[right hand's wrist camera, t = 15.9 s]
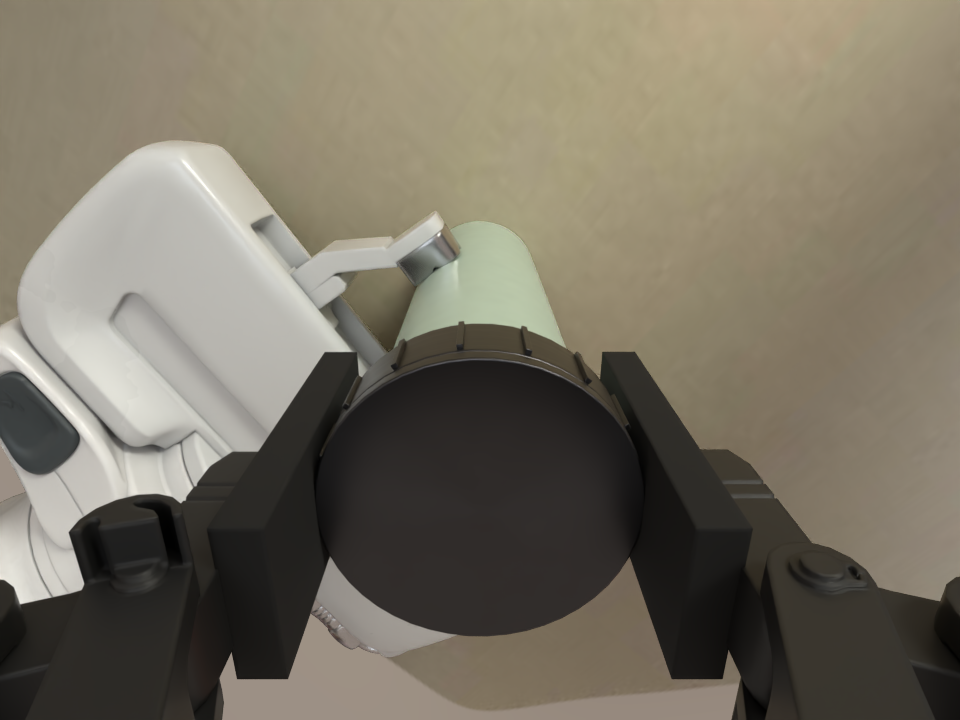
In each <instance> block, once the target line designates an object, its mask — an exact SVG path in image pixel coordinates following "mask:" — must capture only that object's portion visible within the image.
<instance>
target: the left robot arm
mask: <svg viewBox="0 0 960 720" xmlns="http://www.w3.org/2000/svg"><path fill="white" fill-rule="evenodd" d="M460 249H461V246H460V245H459V243H458V242H457V240H456V239H455V237H454V236H453V234H452V233H451V231H450V230H449V228H448V227H447V225H446V224H445V223H444V221H443V219H442V218H441V217H440V215H439V214H438V213H437V211H434V212H432V213H430V214H428V215H427V216H426V217H424V218H423V219H421V220H420V221H419V222H417V223H416V224H414V225H413V226H412V227H410V228H409V229H407V230H406V231H405V232H403V233H402V234H400V235H399V236H398V237H396V238H395V239H393V238H392V237H391V236H389V237H375V238H361V239H347V240H335V241H333V242H332V243H331V244H329V245H328V246H327V247H325V248H324V249H323V250H321V251H320V252H318V253H317V254H316V255H314V256H313V257H311V256H310V255H309V253H308V252H307V251H306V250H305V248H304V247H303V246H302V245H301V243H300V242H299V241H298V239H297V238H296V237H295V236H294V234H293V233H292V232H291V231H290V229H289V228H288V227H287V226H286V224H285V223H284V222H283V221H282V219H281V218H280V217H279V216H278V214H277V213H276V212H275V211H274V209H273V208H272V207H271V206H270V204H269V203H268V202H267V201H266V199H265V198H264V197H263V196H262V194H261V193H260V192H259V190H258V189H257V188H256V187H255V185H254V184H253V183H252V182H251V180H250V179H249V178H248V177H247V175H246V174H245V173H244V172H243V170H242V169H241V168H240V167H239V165H238V164H237V163H236V161H235V160H234V159H233V158H232V156H231V155H230V154H229V153H228V152H227V151H226V150H225V149H224V148H222V147H220V146H218V145H215V144H209V143H203V142H195V141H183V140H170V141H163V142H157V143H153V144H149V145H146V146H144V147H141V148H139V149H137V150H136V151H134V152H132V153H131V154H129V155H128V156H127V157H125V158H124V159H123V160H122V161H121V162H119V163H118V164H117V165H116V166H115V167H114V168H112V169H111V170H110V171H109V172H108V173H107V174H106V175H105V176H104V177H103V178H102V179H100V180H99V181H98V182H97V183H96V184H95V185H94V186H93V187H92V188H91V189H90V190H89V191H88V192H87V193H86V194H85V195H84V196H83V197H82V198H81V199H80V201H79V202H78V203H77V204H76V205H75V206H74V207H73V208H72V209H71V210H70V211H69V212H68V213H67V215H66V216H65V217H64V218H63V219H62V220H61V221H60V222H59V224H58V225H57V226H56V227H55V228H54V229H53V231H52V232H51V233H50V234H49V236H48V237H47V238H46V239H45V241H44V242H43V243H42V244H41V246H40V247H39V248H38V249H37V251H36V252H35V253H34V255H33V256H32V258H31V259H30V261H29V262H28V264H27V266H26V268H25V270H24V272H23V274H22V277H21V280H20V283H19V287H18V292H17V309H18V315H19V316H17V317H15V318H13V319H11V320H10V321H8V322H6V323H4V324H2V325H1V326H0V446H1V448H2V449H3V451H4V453H5V454H6V456H7V458H8V459H9V461H10V463H11V465H12V466H13V468H14V470H15V472H16V473H17V475H18V477H19V479H20V481H21V483H22V485H23V487H24V489H25V491H26V492H24V493H22V494H19V495H16V496H13V497H11V498H9V499H6V500H4V501H2V502H0V579H1V580H5V581H7V582H8V583H9V584H11V585H12V586H13V587H14V589H15V591H16V594H17V597H18V600H19V602H20V604H23V603H28V602H33V601H37V600H42V599H46V598H51V597H56V596H60V595H65V594H70V593H73V592H77V591H80V590H82V588H83V586H84V581H83V578H82V575H81V572H80V568H79V565H78V562H77V559H76V555H75V552H74V549H73V546H72V542H71V539H70V536H69V533H68V532H69V531H70V530H71V529H72V527H73V526H74V525H75V524H76V523H77V522H78V520H79V519H81V518H82V517H84V516H85V515H87V514H88V513H90V512H91V511H93V510H94V509H96V508H98V507H101V506H103V505H105V504H108V503H110V502H112V501H115V500H118V499H122V498H126V497H130V496H134V495H140V494H161V495H166V496H171V497H173V498H175V499H176V500H177V501H178V502H180V503H182V501H186V496H187V495H188V494H189V492H190V491H191V490H192V489H193V487H194V486H197V482H198V481H199V480H200V478H201V477H202V476H203V475H204V473H205V472H206V471H207V469H208V468H209V467H210V466H211V465H212V464H214V463H216V462H217V461H219V460H220V459H222V458H223V457H225V456H226V455H228V454H229V453H231V452H258V451H259V449H260V448H261V446H262V445H263V443H264V442H265V440H266V439H267V437H268V436H269V435H270V433H271V432H272V430H273V429H274V427H275V426H276V424H277V423H278V421H279V420H280V418H281V417H282V415H283V414H284V412H285V411H286V409H287V408H288V406H289V405H290V403H291V402H292V400H293V399H294V397H295V396H296V394H297V393H298V391H299V390H300V388H301V387H302V385H303V384H304V382H305V381H306V379H307V378H308V376H309V375H310V373H311V372H312V370H313V369H314V367H315V366H316V364H317V363H318V361H319V360H320V358H321V357H322V355H323V354H324V352H357V356H358V369H359V376H361V377H363V375H364V374H365V373H366V371H367V370H368V369H369V368H371V367H372V366H373V365H374V364H375V363H376V362H377V361H378V360H379V359H380V358H381V357H383V356H384V355H385V354H387V351H386V350H385V349H384V348H383V346H382V345H381V344H380V343H379V341H378V340H377V339H376V337H375V336H374V335H373V334H372V332H371V331H370V330H369V329H368V327H367V326H366V325H365V324H364V322H363V321H362V320H361V319H360V317H359V316H358V315H357V314H356V312H355V311H354V310H353V309H352V307H351V306H350V305H349V304H348V302H347V301H346V300H345V299H344V297H343V296H342V295H341V293H343V292H344V291H345V290H346V289H347V288H348V286H349V285H350V284H351V282H352V281H353V280H354V279H355V277H356V276H357V274H358V271H364V270H374V269H384V268H394V267H398V266H399V267H400V269H401V270H402V271H403V272H404V274H405V275H406V276H407V277H408V279H409V280H410V281H411V283H412V284H413V285H414V286H416V285H418V284H419V283H421V282H422V281H424V280H425V279H427V278H428V277H429V276H430V275H431V274H432V272H433V269H434V267H443V266H445V265H447V264H448V263H450V262H451V261H453V260H454V259H455V258H456V257H457V256H458V255H459V254H460V252H461V251H460ZM311 614H312V615H314V616H315V617H316V618H318V619H319V620H320V621H321V622H322V623H323V624H324V625H325V626H326V627H327V628H328V631H329V632H330V634H331V635H332V636H333V637H334V638H335V639H336V640H337V641H338V642H339V643H341V644H342V645H343V646H345V647H347V648H349V649H355V648H357V647H360V648H362V649H363V650H366V651H369V652H372V653H377V654H381V655H382V656H384V657H394V656H398V655H401V654H403V653H405V652H407V651H409V650H414V649H417V648H421V647H425V646H428V645H431V644H434V643H437V642H440V641H443V640H446V639H449V638H451V637H454V636H457V635H454V634H447V633H442V632H437V631H433V630H428V629H425V628H422V627H419V626H416V625H413V624H410V623H408V622H406V621H404V620H401V619H399V618H397V617H395V616H393V615H391V614H389V613H388V612H386V611H384V610H382V609H381V608H379V607H377V606H376V605H375V604H373V603H372V602H371V601H369V600H368V599H367V598H365V597H364V596H363V595H362V594H360V593H359V592H358V591H357V590H356V589H355V588H354V587H353V586H352V585H351V584H350V583H349V582H348V581H347V579H346V578H345V577H344V576H343V574H342V573H341V572H340V571H339V569H338V568H337V567H336V565H335V563H334V562H333V560H332V558H331V557H330V558H329V561H328V564H327V567H326V569H325V572H324V575H323V578H322V581H321V584H320V587H319V590H318V593H317V596H316V599H315V602H314V604H313V607H312V610H311Z"/></svg>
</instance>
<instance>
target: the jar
mask: <svg viewBox="0 0 960 720" xmlns="http://www.w3.org/2000/svg"><path fill="white" fill-rule="evenodd" d="M450 231H451V233H452V234H453V236H454V237H455V239H456V240H457V242H458V243H459V245H460V246H461V249H460V251H461V252H460V254H459V255H458V256H457V257H456V258H455V259H454V260H453V261H451V262H450V263H448V264H447V265H445V266H443V267H434V269H433V272H432V274H431V275H430V276H429V277H428V278H427V279H425V280H424V281H422V282H421V283H419V284H418V285H417V288H416V290H415V293H414V295H413V298H412V301H411V303H410V306H409V309H408V311H407V314H406V317H405V319H404V322H403V325H402V327H401V330H400V332H399V335H398V338H397V340H396V343H395V346H394V348H395V347H397V346H398V343H399V341H400V340H402V339H405V340H406V341H408V340H410V339H412V338H413V337H416V336H419V335H421V334H424V333H427V332H429V331H432V330H436V329H440V328H444V327H449V326H454V325H458V322H459V321H464V323H465V324H498V325H505V326H512V327H516V328H520V329H521V326H526V327H527V329H528V331H531V332H534V333H536V334H539V335H541V336H543V337H546V338H548V339H551V340H552V341H554V342H556V343H558V344H559V345H561V346H563V347H565V348H566V346H565V344H564V341H563V338H562V336H561V333H560V331H559V328H558V325H557V323H556V320H555V317H554V315H553V312H552V309H551V307H550V304H549V302H548V299H547V296H546V294H545V291H544V288H543V286H542V283H541V280H540V278H539V275H538V273H537V270H536V267H535V265H534V262H533V259H532V257H531V254H530V252H529V250H528V248H527V247H526V245H525V244H524V242H523V241H522V240H521V239H520V238H519V237H518V236H517V235H516V234H515V233H514V232H512V231H511V230H509V229H508V228H506V227H504V226H501V225H499V224H496V223H492V222H486V221H474V222H468V223H464V224H461V225H458V226H456V227H454V228H452V229H450ZM394 348H393V349H394Z"/></svg>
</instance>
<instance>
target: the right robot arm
mask: <svg viewBox="0 0 960 720" xmlns="http://www.w3.org/2000/svg"><path fill="white" fill-rule="evenodd" d="M358 375H359V369H358V356H357V352H324V354H323V355H322V357H321V358H320V360H319V361H318V363H317V364H316V366H315V367H314V369H313V370H312V372H311V373H310V375H309V376H308V378H307V379H306V381H305V382H304V384H303V385H302V387H301V388H300V390H299V391H298V393H297V394H296V396H295V397H294V399H293V400H292V402H291V403H290V405H289V406H288V408H287V409H286V411H285V412H284V414H283V415H282V417H281V418H280V420H279V421H278V423H277V424H276V426H275V427H274V429H273V430H272V432H271V433H270V435H269V436H268V437H267V439H266V440H265V442H264V443H263V445H262V446H261V448H260V449H259V451H258V452H231V453H229V454H228V455H226V456H225V457H223V458H222V459H220V460H219V461H217V462H216V463H214V464H212V465H211V466H210V467H209V468H208V469H207V471H206V472H205V473H204V475H203V476H202V477H201V478H200V480H199V481H198V482H197V486H194V487H193V489H192V490H191V491H190V492H189V494H188V495H187V496H186V501H182V503H180V502H178V501H177V500H176V499H175V498H173V497H171V496H166V495H161V494H140V495H134V496H130V497H126V498H122V499H118V500H115V501H112V502H110V503H108V504H105V505H103V506H101V507H98V508H96V509H94V510H93V511H91V512H90V513H88V514H87V515H85V516H84V517H82V518H81V519H79V520H78V522H77V523H76V524H75V525H74V526H73V527H72V529H71V530H70V531H69V532H68V533H69V536H70V539H71V542H72V546H73V549H74V552H75V555H76V559H77V562H78V565H79V568H80V572H81V575H82V578H83V581H84V586H83V588H82V590H80V591H77V592H73V593H70V594H65V595H60V596H56V597H51V598H46V599H42V600H37V601H33V602H28V603H23V604H20V602H19V600H18V597H17V594H16V591H15V589H14V587H13V586H12V585H11V584H9V583H8V582H7V581H5V580H1V579H0V720H222V714H223V705H224V701H223V694H222V688H221V684H220V679H219V677H220V675H221V673H222V671H223V669H224V667H225V665H226V662H227V660H228V658H229V656H230V654H231V652H232V656H233V661H234V666H235V671H236V676H237V679H288V677H289V674H290V671H291V669H292V666H293V663H294V660H295V657H296V654H297V651H298V648H299V645H300V642H301V639H302V636H303V634H304V631H305V628H306V625H307V622H308V619H309V616H310V613H311V610H312V607H313V604H314V602H315V599H316V596H317V593H318V590H319V587H320V584H321V581H322V578H323V575H324V572H325V569H326V567H327V564H328V561H329V558H330V555H329V553H328V551H327V549H326V547H325V544H324V542H323V540H322V537H321V534H320V531H319V527H318V521H317V513H316V504H315V480H316V475H317V470H318V466H319V462H320V460H318V457H319V454H320V452H321V450H322V448H323V446H324V444H325V441H326V439H327V437H328V435H329V433H330V431H331V429H332V427H333V425H334V423H337V420H338V418H339V416H340V414H341V412H342V410H343V408H342V406H343V404H344V402H345V399H346V397H347V395H348V393H349V391H350V389H351V387H352V385H353V383H354V381H355V379H356V377H357V376H358ZM600 381H601V382H602V383H603V385H604V386H605V388H606V389H607V391H608V393H609V395H610V396H611V395H613V394H615V396H616V398H617V400H618V402H619V404H620V406H621V408H622V410H623V413H624V415H625V417H626V419H627V421H628V423H629V425H630V427H631V429H629V430H627V431H628V434H629V436H630V438H631V440H632V442H633V444H634V446H635V448H636V451H637V454H638V457H639V460H640V463H641V466H642V470H643V476H644V482H645V500H644V509H643V517H642V525H641V530H640V533H639V536H638V540H637V542H636V544H635V546H634V548H633V550H632V552H631V555H630V559H631V562H632V565H633V568H634V571H635V573H636V576H637V579H638V582H639V585H640V588H641V591H642V594H643V597H644V600H645V603H646V605H647V608H648V611H649V614H650V617H651V620H652V623H653V626H654V629H655V632H656V635H657V638H658V640H659V643H660V646H661V649H662V652H663V655H664V658H665V661H666V664H667V667H668V670H669V672H670V675H671V678H672V679H723V674H724V669H725V664H726V659H727V654H728V649H729V652H730V654H731V656H732V658H733V660H734V662H735V664H736V666H737V669H738V671H739V673H740V675H741V679H740V683H739V688H738V693H737V697H736V702H735V707H734V711H733V716H732V720H960V577H956V578H954V579H953V580H952V581H950V582H949V583H948V584H946V587H945V590H944V593H943V595H942V598H941V601H935V600H930V599H926V598H921V597H916V596H912V595H907V594H902V593H898V592H893V591H889V590H885V589H882V588H878V587H877V585H876V583H875V581H874V580H873V579H872V577H871V576H870V574H869V573H868V572H867V570H866V569H864V568H863V567H862V566H861V565H859V564H858V563H857V562H855V561H854V560H853V559H851V558H850V557H848V556H846V555H844V554H842V553H840V552H838V551H836V550H834V549H831V548H828V547H825V546H821V545H817V544H814V543H812V542H811V541H810V540H809V539H808V537H807V536H806V535H805V534H804V532H803V531H802V530H801V528H800V527H799V526H798V525H797V523H796V522H795V521H794V520H793V518H792V517H791V516H790V514H789V513H788V512H787V511H786V509H785V508H784V507H783V506H782V504H781V503H780V502H779V501H778V499H775V498H774V494H773V493H772V492H771V490H770V489H769V488H768V487H767V485H766V484H763V480H762V479H761V478H760V476H759V475H758V474H757V473H756V471H755V470H754V469H753V467H752V466H751V465H750V464H749V463H747V462H746V461H744V460H743V459H741V458H740V457H738V456H737V455H735V454H734V453H732V452H731V451H729V450H700V449H699V447H698V446H697V444H696V443H695V441H694V440H693V438H692V437H691V435H690V434H689V432H688V431H687V429H686V428H685V426H684V425H683V423H682V422H681V420H680V419H679V417H678V416H677V414H676V413H675V411H674V410H673V408H672V407H671V405H670V404H669V402H668V401H667V399H666V398H665V396H664V395H663V393H662V392H661V390H660V389H659V387H658V386H657V384H656V383H655V381H654V380H653V378H652V377H651V375H650V374H649V372H648V371H647V369H646V368H645V366H644V365H643V363H642V362H641V360H640V359H639V357H638V356H637V354H636V353H635V352H602V364H601V376H600Z"/></svg>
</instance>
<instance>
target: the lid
mask: <svg viewBox="0 0 960 720" xmlns="http://www.w3.org/2000/svg"><path fill="white" fill-rule="evenodd" d="M342 408H343V410H342V412H341V414H340V416H339V418H338V420H337V423H334V425H333V427H332V429H331V431H330V433H329V435H328V437H327V439H326V441H325V444H324V446H323V448H322V450H321V452H320V454H319V457H318V460H320V462H319V466H318V470H317V475H316V480H315V504H316V513H317V521H318V527H319V531H320V534H321V537H322V540H323V542H324V544H325V547H326V549H327V551H328V553H329V555H330V557H331V558H332V560H333V562H334V563H335V565H336V567H337V568H338V569H339V571H340V572H341V573H342V574H343V576H344V577H345V578H346V579H347V581H348V582H349V583H350V584H351V585H352V586H353V587H354V588H355V589H356V590H357V591H358V592H359V593H360V594H362V595H363V596H364V597H365V598H367V599H368V600H369V601H371V602H372V603H373V604H375V605H376V606H377V607H379V608H381V609H382V610H384V611H386V612H388V613H389V614H391V615H393V616H395V617H397V618H399V619H401V620H404V621H406V622H408V623H410V624H413V625H416V626H419V627H422V628H425V629H428V630H433V631H437V632H442V633H447V634H454V635H463V636H496V635H507V634H512V633H517V632H523V631H527V630H531V629H534V628H537V627H541V626H544V625H546V624H549V623H551V622H554V621H556V620H558V619H561V618H563V617H565V616H567V615H568V614H570V613H572V612H574V611H576V610H577V609H579V608H581V607H582V606H583V605H585V604H586V603H588V602H589V601H590V600H592V599H593V598H595V597H596V596H597V595H598V594H599V593H600V592H601V591H602V590H603V589H604V588H606V587H607V586H608V585H609V584H610V582H611V581H612V580H613V579H614V578H615V577H616V575H617V574H618V573H619V572H620V570H621V569H622V567H623V566H624V564H625V563H626V561H627V560H628V558H629V557H630V555H631V552H632V550H633V548H634V546H635V544H636V542H637V540H638V536H639V533H640V530H641V525H642V517H643V509H644V500H645V482H644V476H643V470H642V466H641V463H640V460H639V457H638V454H637V451H636V448H635V446H634V444H633V442H632V440H631V438H630V436H629V434H628V431H627V430H629V429H631V427H630V425H629V423H628V421H627V419H626V417H625V415H624V413H623V410H622V408H621V406H620V404H619V402H618V400H617V398H616V396H615V394H613V395H611V396H610V395H609V393H608V391H607V389H606V388H605V386H604V385H603V383H602V382H601V381H600V379H599V378H598V377H597V375H596V374H595V373H594V372H593V371H592V370H591V369H590V368H589V367H588V366H587V365H586V364H585V363H584V361H583V358H582V356H581V354H579V353H578V352H576V353H575V354H573V353H572V352H571V351H569V350H568V349H566V348H565V347H563V346H561V345H559V344H558V343H556V342H554V341H552V340H551V339H548V338H546V337H543V336H541V335H539V334H536V333H534V332H531V331H528V329H527V327H526V326H521V329H520V328H516V327H512V326H505V325H498V324H465V323H464V321H459V322H458V325H454V326H449V327H444V328H440V329H436V330H432V331H429V332H427V333H424V334H421V335H419V336H416V337H413V338H412V339H410V340H408V341H406V340H405V339H402V340H400V341H399V343H398V346H397V347H395V348H394V349H392V350H391V351H389V352H388V353H387V354H385V355H384V356H383V357H381V358H380V359H379V360H378V361H377V362H376V363H375V364H374V365H373V366H372V367H371V368H369V369H368V370H367V371H366V373H365V374H364V375H363V377H361V376H359V375H358V376H357V377H356V379H355V381H354V383H353V385H352V387H351V389H350V391H349V393H348V395H347V397H346V399H345V402H344V404H343V406H342Z"/></svg>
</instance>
